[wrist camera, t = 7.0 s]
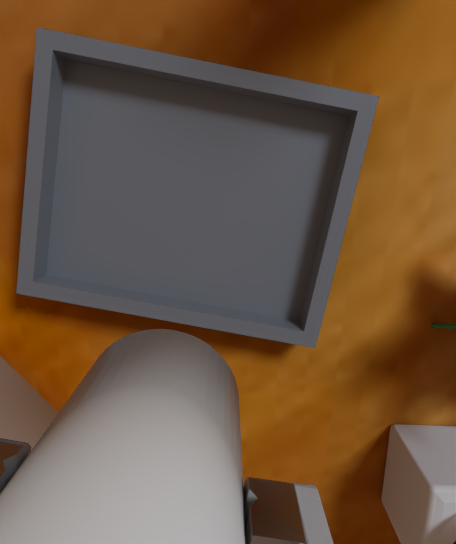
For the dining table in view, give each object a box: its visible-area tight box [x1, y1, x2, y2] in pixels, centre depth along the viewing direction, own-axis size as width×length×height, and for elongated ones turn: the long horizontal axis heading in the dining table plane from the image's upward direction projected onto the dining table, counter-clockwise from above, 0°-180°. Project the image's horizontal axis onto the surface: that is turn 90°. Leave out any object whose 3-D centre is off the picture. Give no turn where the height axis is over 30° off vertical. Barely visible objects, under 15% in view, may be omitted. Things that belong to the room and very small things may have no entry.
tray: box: [16, 27, 379, 348], centre depth 27 cm, size 20×16×3 cm
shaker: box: [0, 329, 246, 544], centre depth 8 cm, size 5×5×10 cm
